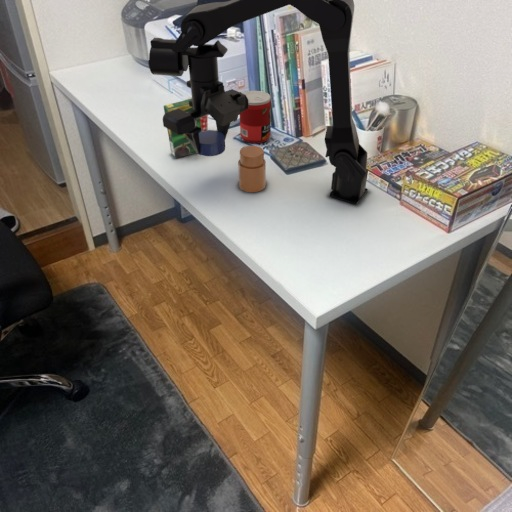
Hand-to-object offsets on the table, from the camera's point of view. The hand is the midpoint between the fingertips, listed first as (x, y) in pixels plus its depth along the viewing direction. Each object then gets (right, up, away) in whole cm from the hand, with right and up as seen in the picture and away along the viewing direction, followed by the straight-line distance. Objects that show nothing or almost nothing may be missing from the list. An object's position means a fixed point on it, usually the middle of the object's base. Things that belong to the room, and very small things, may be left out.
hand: (210, 147), depth 108 cm
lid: (0, 0, 0) cm, 0 cm away
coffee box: (-7, +2, +15) cm, 17 cm away
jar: (+9, -8, +4) cm, 13 cm away
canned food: (+10, +7, +21) cm, 25 cm away
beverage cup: (-5, +9, +23) cm, 26 cm away
